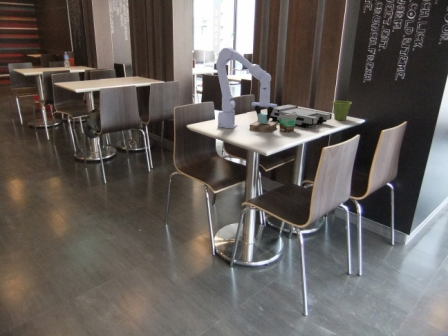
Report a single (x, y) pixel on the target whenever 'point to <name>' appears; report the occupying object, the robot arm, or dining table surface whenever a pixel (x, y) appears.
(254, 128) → the walnut base
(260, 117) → the teal cube
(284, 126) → the food container
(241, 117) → the dining table surface
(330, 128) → the dining table surface
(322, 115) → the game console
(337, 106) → the plant pot
